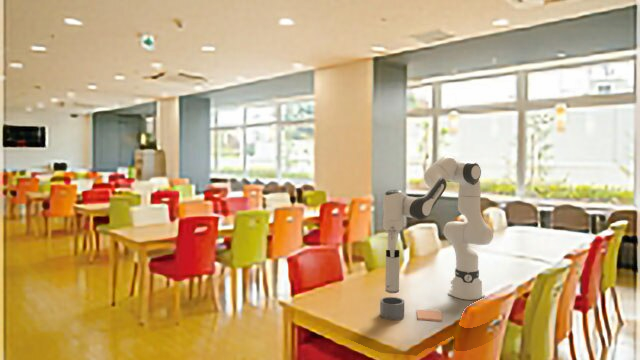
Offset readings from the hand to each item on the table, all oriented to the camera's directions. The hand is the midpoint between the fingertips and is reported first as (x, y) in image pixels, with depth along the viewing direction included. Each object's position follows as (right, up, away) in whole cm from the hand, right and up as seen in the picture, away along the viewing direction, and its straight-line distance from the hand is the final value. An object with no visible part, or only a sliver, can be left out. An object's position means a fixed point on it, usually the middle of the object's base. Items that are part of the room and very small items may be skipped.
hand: (392, 254), depth 212 cm
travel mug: (0, -17, +1) cm, 17 cm away
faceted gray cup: (0, -29, +2) cm, 29 cm away
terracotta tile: (+17, -29, +1) cm, 33 cm away
